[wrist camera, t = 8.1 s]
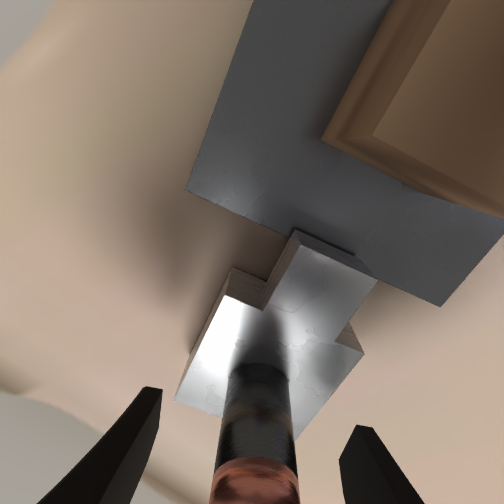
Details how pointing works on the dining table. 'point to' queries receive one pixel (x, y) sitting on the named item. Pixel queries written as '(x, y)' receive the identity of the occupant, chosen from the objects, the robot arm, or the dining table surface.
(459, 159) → the wooden block
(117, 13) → the dining table surface
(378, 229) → the metal bracket
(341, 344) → the ram
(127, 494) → the robot arm
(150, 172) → the dining table surface
